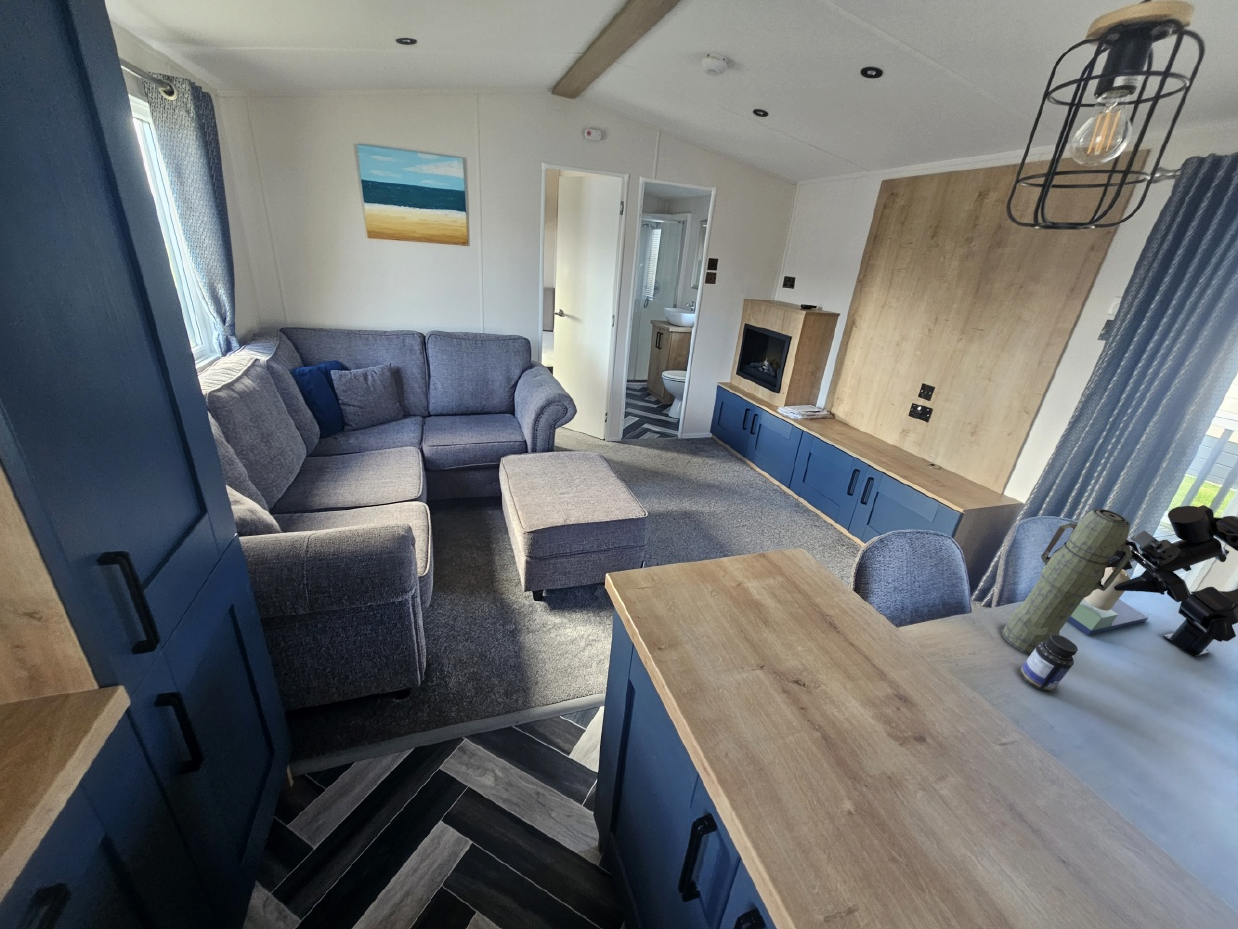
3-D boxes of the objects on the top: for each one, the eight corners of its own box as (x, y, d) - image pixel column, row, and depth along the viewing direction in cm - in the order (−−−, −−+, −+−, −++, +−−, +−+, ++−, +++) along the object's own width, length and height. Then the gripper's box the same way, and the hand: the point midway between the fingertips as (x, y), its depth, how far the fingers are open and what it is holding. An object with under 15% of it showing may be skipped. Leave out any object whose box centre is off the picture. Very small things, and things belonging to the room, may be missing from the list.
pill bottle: (1046, 675, 110) (1075, 638, 105) (1058, 697, 104) (1088, 659, 99) (1014, 664, 111) (1041, 627, 106) (1024, 685, 106) (1052, 647, 101)
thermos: (998, 617, 125) (1078, 495, 109) (1055, 648, 118) (1151, 523, 102) (989, 634, 119) (1073, 507, 103) (1050, 667, 112) (1150, 537, 96)
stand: (1110, 600, 139) (1123, 584, 136) (1145, 622, 132) (1158, 606, 130) (1054, 611, 131) (1066, 595, 128) (1087, 635, 124) (1101, 618, 122)
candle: (1108, 614, 121) (1133, 581, 117) (1080, 600, 125) (1103, 567, 120) (1112, 605, 125) (1136, 573, 120) (1084, 592, 128) (1107, 560, 124)
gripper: (1141, 505, 122) (1068, 534, 128) (1210, 551, 106) (1123, 582, 111) (1156, 538, 125) (1084, 565, 131) (1225, 588, 109) (1139, 617, 114)
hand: (1105, 580), depth 122 cm, fingers closed on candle, 5 cm apart
